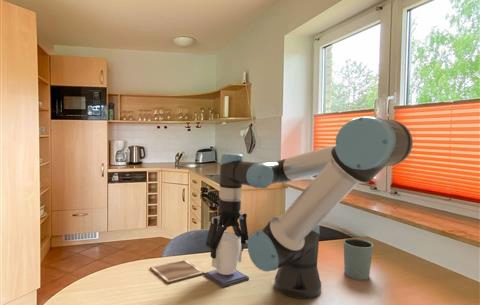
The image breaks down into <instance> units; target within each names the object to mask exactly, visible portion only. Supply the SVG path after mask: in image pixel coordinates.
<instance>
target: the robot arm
mask: <svg viewBox="0 0 480 305" xmlns="http://www.w3.org/2000/svg"><path fill="white" fill-rule="evenodd" d="M412 136H413V135H412V133H411V131H410V130H409V128H408V127H406V126H405V125H404V124H403V123H401V122H400V121H397V120H394V119H387V118H380V117H377V116H372V115H370V116H369V115H368V116H360V117H355V118H353V119H350V120H348V121H347V122H346V123H344V125H342V127H341V128H340V129H339V130H338V132H337V134H336V138H335V140H334V141H335V144H332V145H330V146H325V147H322V148H319V149H315V150H312V151H308V152H304V153H301V154H297V155H294V156H290V157H287V158H283V159H281V160H277V161H276V160H275V161H257V162H256V161H255V162H253V161H245V160H244V155H243V154H242V153H236V152H234V153H231V152H224V153H222V154H221V157H220V164H219V186H218V187H219V189H218V190H219V191H218V197H219V199H218V207H217V208H218V214H217V216H210V221H209V222H210V225H209V230H208V233H207V237H206V242H205V246H206V247H207V248H209V249H210V258H211V267H213V268H215V270H217V268H218V263H219V249H218V248H217V247H218V245H219V242H220V240H221V238H222V236H223V233H225V231H226V230H227V229H228V228H229V227H232V229H233V232H234V233H235V235H236V236H237V237H240V236H241V248H240V253H239V258H238V263H242V252H243V251H244V245H245V244H246V243H247V253H248V255H249V258H250V260H251V262H252V263H253V265H254V266H255V267H256V268H257V269H259V270H260V271H263V272H266V273H267V272H272V271H276V270H277V271H276V274H275V277H274V288H275V289H276V291H278V292H279V293H281V294H282V295H285V296H286V297H287V296H288V297H290V298H297V299H312V298H315V297H318V296H319V295H320V294H321V292H322V281H321V278H320V274H319V269H318V258H319V256H318V255H319V245H320V244H319V242H320V235H321V233H320V223H321V222H322V221H323V220H324V218H327V217H326V216H328V214H330V213H331V212H332V211H333V210H334V209H335V207H337V206H338V204H340V203H341V201H343V200H344V198H346V197H347V195H349V193H350V192H352V191H353V189H355V187H357V185H359V184H369V183H370V182H371V181H372V180H373V179H374V178H375V177H376V176H377V175H378V174H379V173H380V172H382V170H383V169H384V168H386V167H391V166H396V165H399V164H400V163H403V161H405V160H406V159H407V158H408V157H409V156H410V154H411V152H412V149H413V143H414V142H413V137H412ZM313 176H315V177H314V179H313V180H312V181H311V182H310V183H309V184H308V186H306V188H305V189H304V190H303V191H302V192H301V194H300V195H298V197H297V198H296V199H295V200H294V202H292V204H291V205H290V206H289V207H288V208H287V209H286V210H285V211H284V213H283V214H282V215H275V216H273V217H272V218H271V219H270V220H269V222H268V223H267V224H266V225H265V226H264V227H263V228H261V229H257V230H255V231H254V232H252V233H250V234H249V232H248V225H247V217H248V215H247V213H245V212H240V211H241V208H242V207H241V205H242V200H241V199H242V191H243V190H242V189H243V188H242V187H243V185H244V186H248V187H253V188H255V189H267V188H268V187H269V186H270V185H273V184H275V185H276V184H286V183H289V182H292V181H295V180H299V179H304V178H309V177H313ZM246 241H247V242H246Z"/></svg>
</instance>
